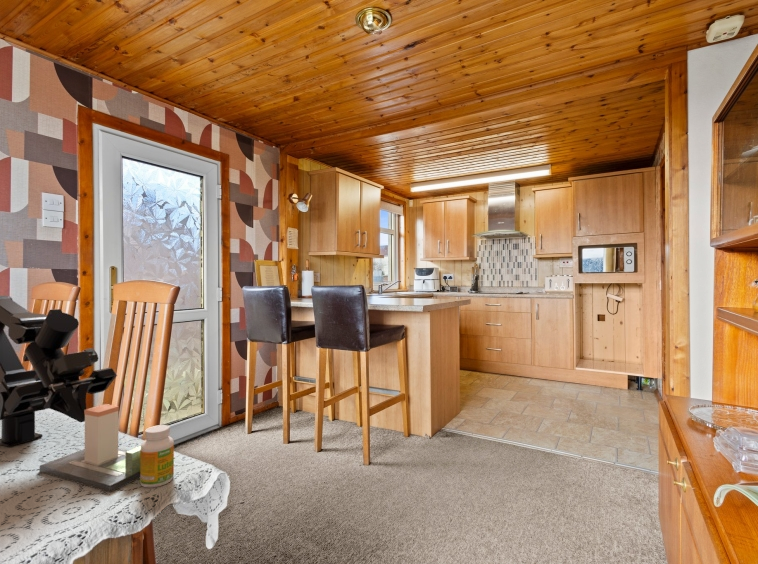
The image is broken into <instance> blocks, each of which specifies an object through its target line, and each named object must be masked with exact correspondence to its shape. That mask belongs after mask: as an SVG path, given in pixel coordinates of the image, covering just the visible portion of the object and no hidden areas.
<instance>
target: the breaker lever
mask: <svg viewBox="0 0 758 564" xmlns="http://www.w3.org/2000/svg"><path fill="white" fill-rule="evenodd" d="M119 411H120V406H118V405H114V404H108V403H103V404H100V405H97V406H94V407H93V406H92V407H90V408H86V410H84V414H85V421H84V449H85V461H88V462H92V463H96V464H100V463H102V462H105V461H107V460H109V459H112V458H114V457H117V456H118V449H119Z"/></svg>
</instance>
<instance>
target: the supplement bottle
mask: <svg viewBox="0 0 758 564" xmlns="http://www.w3.org/2000/svg"><path fill="white" fill-rule="evenodd" d="M170 428H171V427H170V426H169V425H168V424H158V425H153V426H150V427H147V428H146V429H145V430H144V439H145V440H144V441H142V443H141V445H140V446H141V451H140V452H141V454H140V478H139V479H140V481H139V482H140V483H139V484H140V485H141V486H142V487H143V488H158V487H162V486H164V485H166V484H168V483H169V482H171V481H172V480H173V478H174V471H175V469H174V465H175V464H174V462H175V460H174V459H175V458H174V456H175V455H174V454H175V450H174V449H175V448H174V447H175V445H174V444H175V442H174V438H173V437H171V436H170V434H171V433H170Z"/></svg>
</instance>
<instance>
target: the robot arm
mask: <svg viewBox="0 0 758 564" xmlns="http://www.w3.org/2000/svg"><path fill="white" fill-rule="evenodd" d="M79 323H80V322H79V320H78V318H76V317H75V316H74V315H72V314H69V313H66V312H63V311H62V309H61V308H57V309H55V308H53V309H49V311H48V312H47V314H43V313H35V312H31V311H29V310H28V309H26V308H25V307H23V306H21V304H19V303H17V302H16V301H14V300H13V298H12V296H8V295H0V421H1V437H0V445H1V446H4V447H8V448H10V447H14V446H17V445H20V444H23V443H24V444H25V443H27V442H30V441H33V440H36V439H40V438H42V437H43V434H41V433H38V432H36V418H35V417H36V412H38V411H39V412H40V411H44V410H48V409H50V410H53V411H56V412H58V413H61V414H62V415H65V416H67V417H69V418H71V419H72V420H75V421H76V422H79V423H83V422H84V423H85V414H84V410H86V409H87V394H90V395H94V394H98V393H102V392H104V391H106V390H107V389H108V388H109V387H110V386H111V384H112V382H113V381H115V379H116V378H117V376H118V375H117V373H116V372H115V370H114V369H113V368H112V367H106V368H102V369H96V370H93V371H92V372H91V373H90V374H89V376H88V377H87V378H82V379H80V377H82V376H83V375H85V371H84V370H85V369H87V368H89V367H92V366H93V365H94V364H95V363H97V362H98V361H99V356H98V353H97V352H96V351H95V349H94V347H93V348H85V349H84V350H82V351H78V352H72V353H67V354H65V352H64V351H63V348H65V347H66V346H67V345H68V344H69V342H70V340H71V339H72V338H73V336H74V334H75V332H76V330H77V329H78V327H79V325H80V324H79ZM6 327H7V328H8V336H7V334H6V331H5V328H6ZM8 337H9V338H8ZM10 339H11V340H12V342H13V343H14V344H16V345H21V344H28V345H27V346H26V348H25V349H24V355H23V356H22V357H23V360H22V361H23V362H29V363H30V364H31V367H32V368H33V369H29V370H26V368H25V366H23V363H22V361H21V360H20V358H19V355H18V354H17V352H16V351H15V349H14V347H13V345H12V342H11V341H10Z"/></svg>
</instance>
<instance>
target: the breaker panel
mask: <svg viewBox="0 0 758 564" xmlns="http://www.w3.org/2000/svg"><path fill="white" fill-rule="evenodd" d="M140 451H141V445H139V446H137V447H134V448H132V449H130V450H125V449H120V448H118V456H117V457H114V458H112V459H109V460H107V461H105V462H102V463H100V464H96V463H92V462H88V461H85V448H84V449H81V450H78V451H75V452H72V453H70V454H67V455H64V456H62V457H59V458H57V459H54V460H51V461H48V462H46V463H42V464H40V465H39V473H42V474H45V475H49V476H52V477H56V478H60V479H63V480H65V481H68V482H73V483H76V484H80V485H84V486H87V487H91V488H94V489H97V490H100V491H102V492H103V491H104V492H108V493H112V492H114V491H116V490H118V489H120V488H123V487H124V486H126V485H128V484H131V483H132V482H135V481H136V480H139V479H140V454H141V452H140Z"/></svg>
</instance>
